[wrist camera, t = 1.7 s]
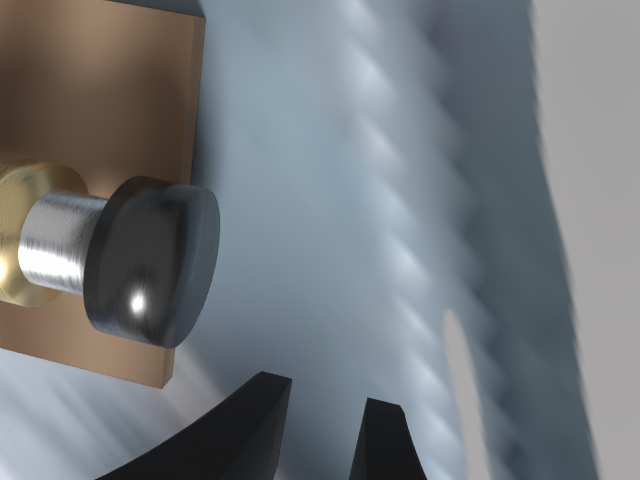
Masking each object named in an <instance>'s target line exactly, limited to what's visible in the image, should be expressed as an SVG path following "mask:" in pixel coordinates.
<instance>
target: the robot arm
mask: <svg viewBox="0 0 640 480" xmlns="http://www.w3.org/2000/svg"><path fill="white" fill-rule="evenodd" d="M291 384H292V379H291V378H287V377H283V376H279V375H275V374H271V373H266V372H262V371H261V372H260V373H258V374H256V375H255V376H253V377H252V378H251V379H250V380H249V381H247V382H246V383H245V384H244V385H243V386H241V387H240V388H239V389H238V390H236V391H235V392H234V393H233V394H231V395H230V396H229V397H228V398H226V399H225V400H224V401H222V402H221V403H220V404H219V405H217V406H216V407H214V408H213V409H212V410H210V411H209V412H208V413H206V414H205V415H203V416H202V417H201V418H199V419H198V420H196V421H195V422H194V423H192V424H191V425H189V426H188V427H186V428H185V429H183V430H182V431H180V432H179V433H177V434H175V435H174V436H172V437H171V438H169V439H168V440H166V441H165V442H163V443H161V444H160V445H158V446H157V447H155V448H153V449H152V450H150V451H148V452H147V453H145V454H143V455H141V456H140V457H138V458H136V459H134V460H133V461H131V462H129V463H127V464H125V465H123V466H121V467H119V468H118V469H116V470H114V471H112V472H110V473H108V474H106V475H104V476H102V477H100V478H97V479H95V480H273V478H274V475H275V472H276V468H277V464H278V459H279V453H280V447H281V441H282V436H283V430H284V424H285V418H286V413H287V407H288V401H289V395H290V390H291ZM349 480H427V478H426V476H425V473H424V471H423V469H422V466H421V464H420V461H419V458H418V456H417V453H416V450H415V447H414V445H413V442H412V439H411V436H410V433H409V429H408V426H407V422H406V418H405V414H404V411H403V410H402V408H401V406H400V405H396V404H392V403H388V402H384V401H380V400H376V399H372V398H368V397H367V402H366V406H365V411H364V415H363V419H362V424H361V428H360V433H359V437H358V441H357V446H356V450H355V455H354V459H353V463H352V468H351V472H350V477H349Z"/></svg>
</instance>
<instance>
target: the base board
mask: <svg viewBox="0 0 640 480" xmlns="http://www.w3.org/2000/svg"><path fill="white" fill-rule="evenodd" d="M205 22H206V18H202V17H197V16H192V15H186V14H181V13H175V12H169V11H163V10H158V9H152V8H146V7H141V6H135V5H129V4H123V3H118V2H112V1H106V0H0V165H2V164H3V163H5V162H7V161H9V160H12V159H15V158H31V159H35V160H40V161H45V162H49V163H54V164H59V165H64V166H67V167H70V168H72V169H74V170H75V171H76V172H78V173H79V174H80V176H81V177H82V178H83V180H84V182H85V184H86V186H87V188H88V192H89V195H93V196H98V197H102V198H107V199H110V197H111V196H112V194H113V193H114V192H115V191H116V189H117V188H118V187H119V186H120V185H121V184H122V183H124V182H125V181H126V180H128V179H130V178H131V177H134V176H138V175H143V176H148V177H152V178H157V179H162V180H167V181H171V182H176V183H181V184H186V185H190V181H191V170H192V160H193V149H194V139H195V128H196V117H197V107H198V96H199V86H200V75H201V64H202V54H203V43H204V33H205ZM0 348H2V349H6V350H10V351H14V352H18V353H22V354H26V355H30V356H34V357H37V358H41V359H45V360H49V361H53V362H57V363H61V364H65V365H69V366H73V367H76V368H80V369H84V370H88V371H92V372H96V373H100V374H104V375H108V376H112V377H116V378H119V379H123V380H127V381H131V382H135V383H139V384H143V385H147V386H151V387H155V388H159V389H162V388H163V387H164V386H165V384H166V383H167V382H168V381H169V379H170V378H171V377H172V372H173V361H174V350H175V348H172V349H166V348H162V347H158V346H154V345H150V344H146V343H142V342H138V341H134V340H130V339H126V338H122V337H118V336H114V335H110V334H106V333H102V332H99V331H97V330H96V329H95V328H94V327H93V326H92V325H91V323H90V321H89V320H88V317H87V314H86V311H85V306H84V299H83V296H82V295H78V294H74V293H69V292H65V291H63V292H62V293H61V294H60V295H58V296H57V297H56V298H55V299H54V300H52V301H51V302H49V303H47V304H45V305H43V306H40V307H34V308H33V307H25V306H21V305H17V304H13V303H9V302H5V301H1V300H0Z"/></svg>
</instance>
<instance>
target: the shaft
mask: <svg viewBox="0 0 640 480" xmlns="http://www.w3.org/2000/svg"><path fill="white" fill-rule="evenodd" d="M219 237H220V213H219V207H218V203H217V200H216V197H215V195H214V194H213V192H212V191H210V190H208V189H205V188H200V187H195V186H190V185H186V184H181V183H176V182H171V181H167V180H162V179H157V178H152V177H148V176H143V175H138V176H134V177H131V178H130V179H128V180H126V181H125V182H124V183H122V184H121V185H120V186H119V187H118V188H117V189H116V191H115V192H114V193H113V194H112V196H111V197H110V199H107V198H102V197H98V196H93V195H89V192H88V188H87V186H86V184H85V182H84V180H83V178H82V177H81V176H80V174H79V173H78V172H76V171H75V170H74V169H72V168H70V167H67V166H64V165H59V164H54V163H49V162H45V161H40V160H35V159H31V158H15V159H12V160H9V161H7V162H5V163H3V164H2V165H0V300H1V301H5V302H9V303H13V304H17V305H21V306H25V307H33V308H34V307H40V306H43V305H45V304H47V303H49V302H51V301H52V300H54V299H55V298H56V297H57V296H58V295H60V294H61V293H62V292H63V291H65V292H69V293H74V294H78V295H82V296H83V299H84V306H85V311H86V314H87V317H88V320H89V321H90V323H91V325H92V326H93V327H94V328H95V329H96V330H97V331H99V332H102V333H106V334H110V335H114V336H118V337H122V338H126V339H130V340H134V341H138V342H142V343H146V344H150V345H154V346H158V347H162V348H166V349H172V348H175V347H177V346H178V345H179V344H180V343H181V342H182V341H183V340H184V339H185V338H186V337H187V335H188V334H189V333H190V331H191V329H192V328H193V326H194V324H195V322H196V321H197V319H198V316H199V314H200V312H201V310H202V308H203V305H204V302H205V300H206V297H207V294H208V291H209V288H210V285H211V281H212V277H213V274H214V269H215V265H216V260H217V254H218V247H219Z"/></svg>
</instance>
